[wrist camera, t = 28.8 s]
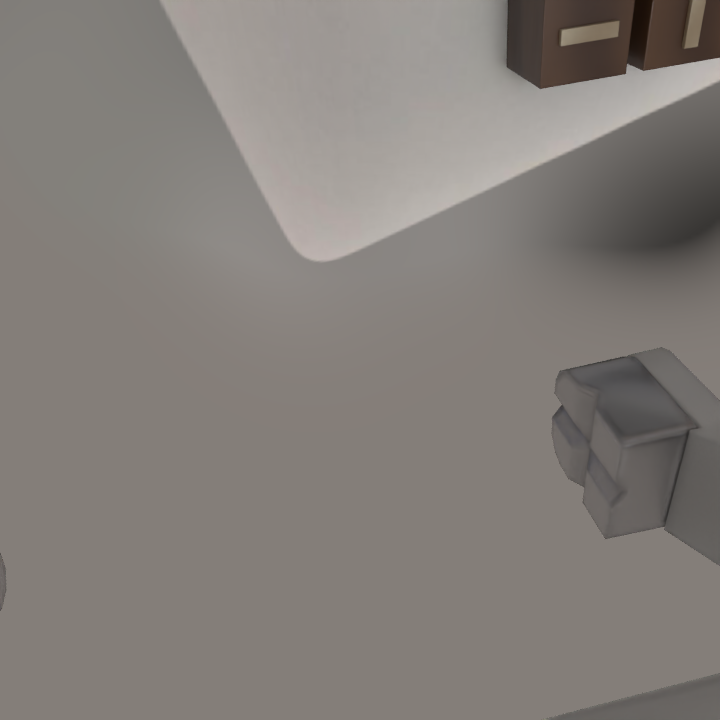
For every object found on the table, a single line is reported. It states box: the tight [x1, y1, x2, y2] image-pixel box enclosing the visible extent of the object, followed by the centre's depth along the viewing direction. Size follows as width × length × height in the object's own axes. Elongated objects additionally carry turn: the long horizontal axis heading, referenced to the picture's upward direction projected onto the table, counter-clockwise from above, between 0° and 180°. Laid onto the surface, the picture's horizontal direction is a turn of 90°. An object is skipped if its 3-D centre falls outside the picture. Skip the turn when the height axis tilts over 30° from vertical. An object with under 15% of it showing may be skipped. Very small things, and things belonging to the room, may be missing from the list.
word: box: [507, 0, 720, 89], centre depth 38 cm, size 11×5×5 cm, turn 96°
